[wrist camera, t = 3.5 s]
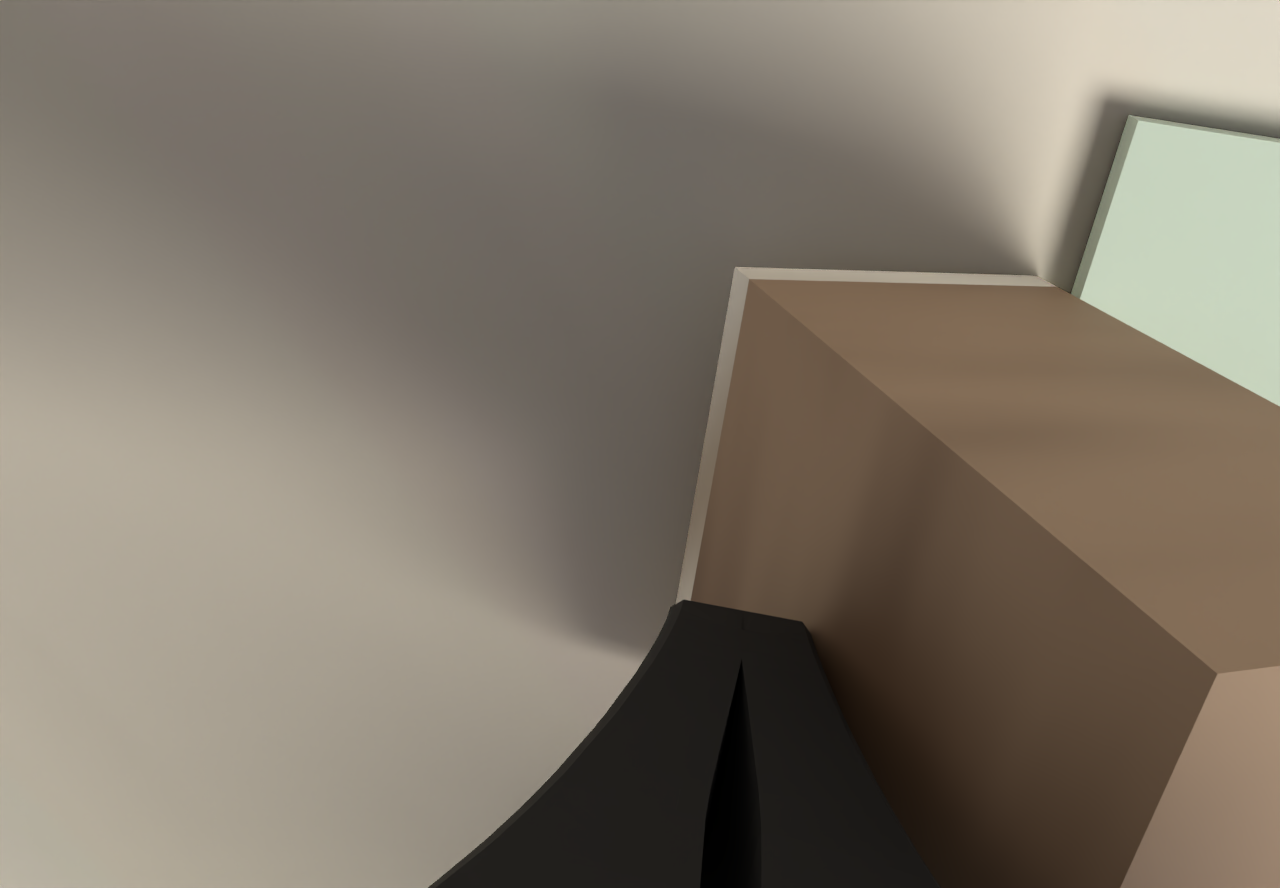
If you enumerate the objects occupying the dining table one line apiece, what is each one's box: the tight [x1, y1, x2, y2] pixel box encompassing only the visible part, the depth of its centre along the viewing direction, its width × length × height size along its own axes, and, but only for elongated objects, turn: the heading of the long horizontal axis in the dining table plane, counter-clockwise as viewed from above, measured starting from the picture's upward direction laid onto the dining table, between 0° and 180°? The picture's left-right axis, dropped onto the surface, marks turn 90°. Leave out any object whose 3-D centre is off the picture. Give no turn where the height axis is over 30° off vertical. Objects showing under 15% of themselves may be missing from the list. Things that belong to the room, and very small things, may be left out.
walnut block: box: [676, 267, 1280, 888], centre depth 11 cm, size 7×4×7 cm, turn 173°
